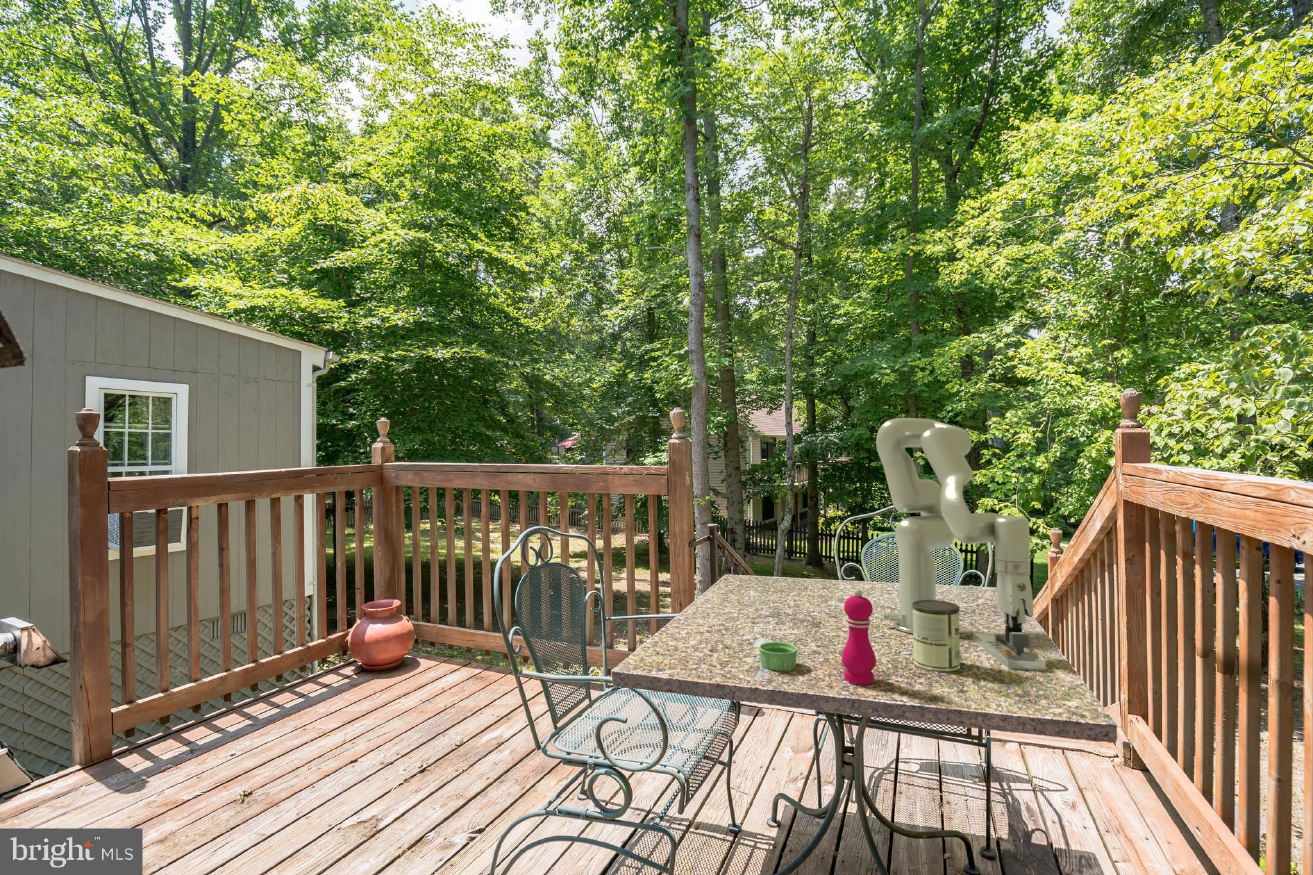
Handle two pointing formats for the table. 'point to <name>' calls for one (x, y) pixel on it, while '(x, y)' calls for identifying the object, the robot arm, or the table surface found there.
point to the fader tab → (1019, 641)
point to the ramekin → (778, 655)
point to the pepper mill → (858, 641)
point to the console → (1008, 652)
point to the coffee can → (936, 635)
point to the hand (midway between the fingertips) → (1013, 642)
